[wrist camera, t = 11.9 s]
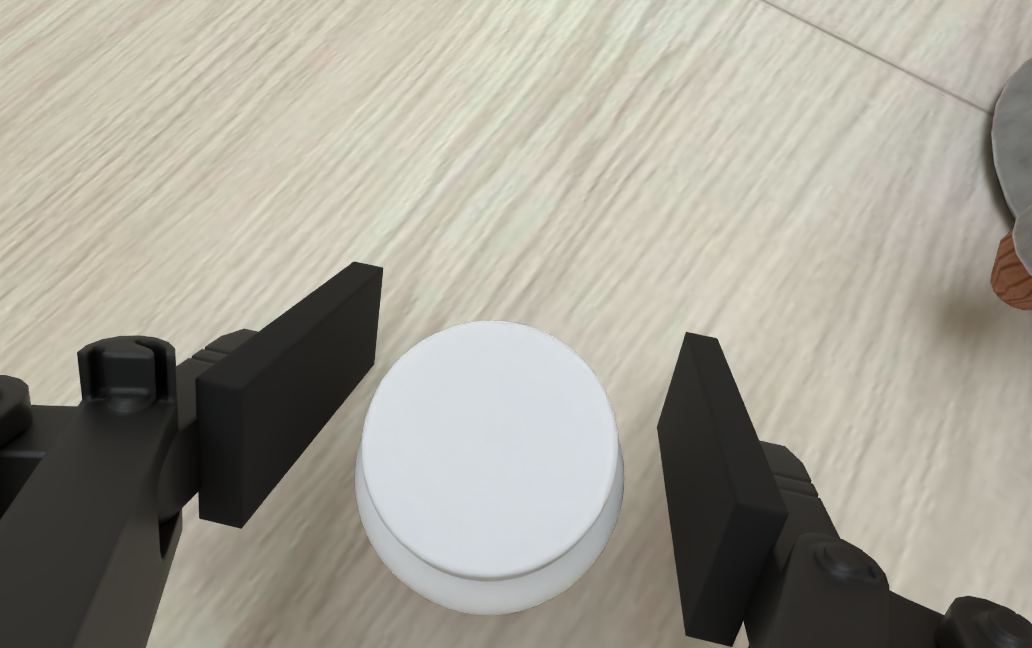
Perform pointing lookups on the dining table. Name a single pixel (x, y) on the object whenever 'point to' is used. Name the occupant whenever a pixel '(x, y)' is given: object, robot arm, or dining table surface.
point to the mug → (1015, 188)
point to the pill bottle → (489, 468)
